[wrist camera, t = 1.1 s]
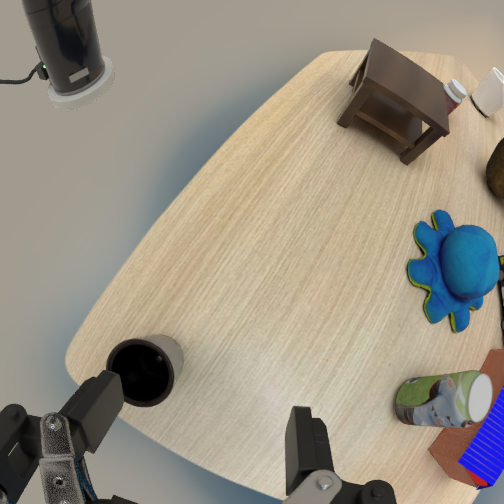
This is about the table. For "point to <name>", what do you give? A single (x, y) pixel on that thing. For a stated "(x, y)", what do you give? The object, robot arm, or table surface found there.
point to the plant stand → (398, 100)
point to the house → (477, 437)
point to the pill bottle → (454, 95)
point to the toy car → (501, 279)
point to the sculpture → (496, 170)
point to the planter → (146, 368)
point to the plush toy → (453, 268)
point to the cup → (490, 93)
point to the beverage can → (445, 400)
